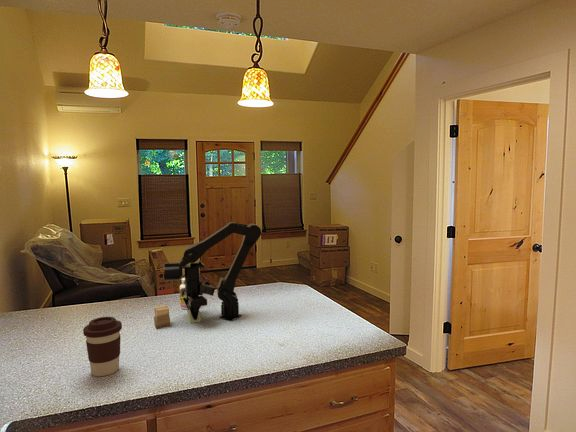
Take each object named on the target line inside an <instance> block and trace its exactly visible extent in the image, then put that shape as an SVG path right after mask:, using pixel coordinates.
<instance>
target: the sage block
mask: <svg viewBox="0 0 576 432" xmlns="http://www.w3.org/2000/svg"><path fill="white" fill-rule="evenodd" d="M186 311H187V321H188V322H189V324H192V323H198V322H199V323H200V322H201V310H199V313H198V317H197V320H194V319H193V317H192V314H191V312H190V310H186Z"/></svg>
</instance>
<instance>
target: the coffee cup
mask: <svg viewBox="0 0 576 432" xmlns="http://www.w3.org/2000/svg"><path fill="white" fill-rule="evenodd" d="M122 328H123V324H122V321H120V320H118V319H116V318H115V317H113V316H101V317H97V318H94V319H92V320H90V321H89V322H88V324H87V325H86V326H84V327H83V329H82V333H83V334H82V335H83V336H84V337H85V339H86V341H85V344H86V351H87V359H88V361H89V365H90V373H91V375H93V376H95V377H106V376H110V375H112V374H114V373H115V372H117V371H118V370H119V369H120V355H121V333H120V331H121V330H122Z"/></svg>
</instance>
